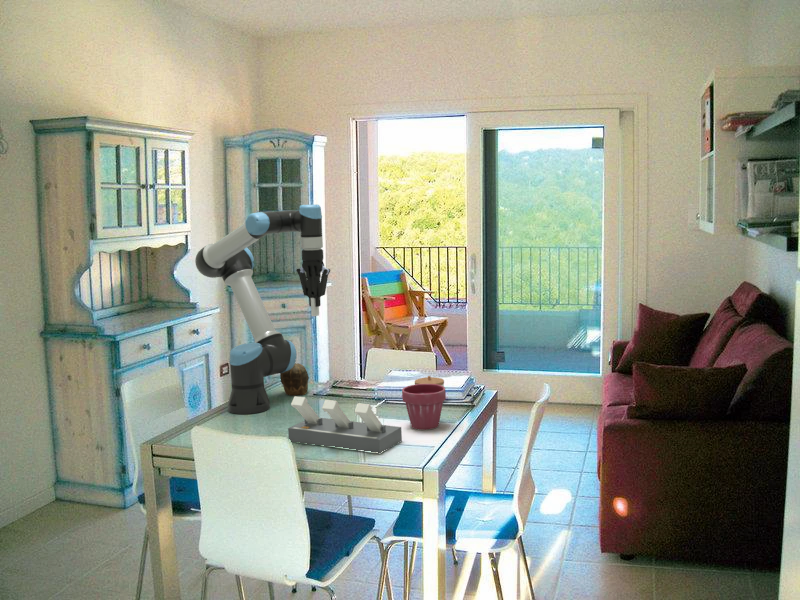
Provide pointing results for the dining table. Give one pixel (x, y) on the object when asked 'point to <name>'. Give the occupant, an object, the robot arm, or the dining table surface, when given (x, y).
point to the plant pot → (424, 404)
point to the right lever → (368, 417)
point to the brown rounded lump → (295, 380)
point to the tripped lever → (305, 409)
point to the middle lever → (336, 413)
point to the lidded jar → (430, 381)
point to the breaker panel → (345, 435)
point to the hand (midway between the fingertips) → (315, 315)
